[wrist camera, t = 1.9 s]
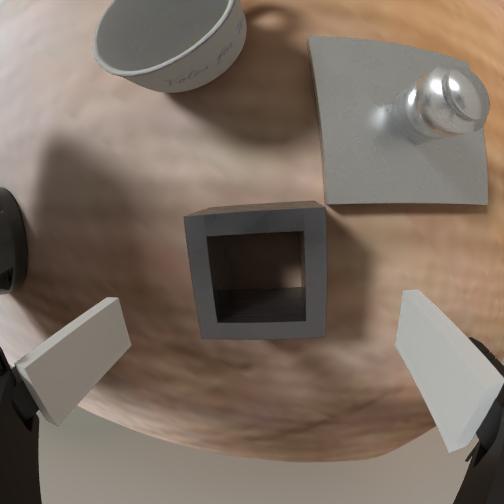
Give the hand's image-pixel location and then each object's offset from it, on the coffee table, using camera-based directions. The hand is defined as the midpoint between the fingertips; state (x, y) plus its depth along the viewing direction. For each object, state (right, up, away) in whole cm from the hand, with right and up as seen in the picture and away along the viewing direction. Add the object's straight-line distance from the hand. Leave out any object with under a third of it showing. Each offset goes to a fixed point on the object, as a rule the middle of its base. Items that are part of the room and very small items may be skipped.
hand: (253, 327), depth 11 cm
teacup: (-5, +22, +7) cm, 24 cm away
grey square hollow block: (+1, +3, +11) cm, 12 cm away
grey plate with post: (+13, +14, +7) cm, 20 cm away
